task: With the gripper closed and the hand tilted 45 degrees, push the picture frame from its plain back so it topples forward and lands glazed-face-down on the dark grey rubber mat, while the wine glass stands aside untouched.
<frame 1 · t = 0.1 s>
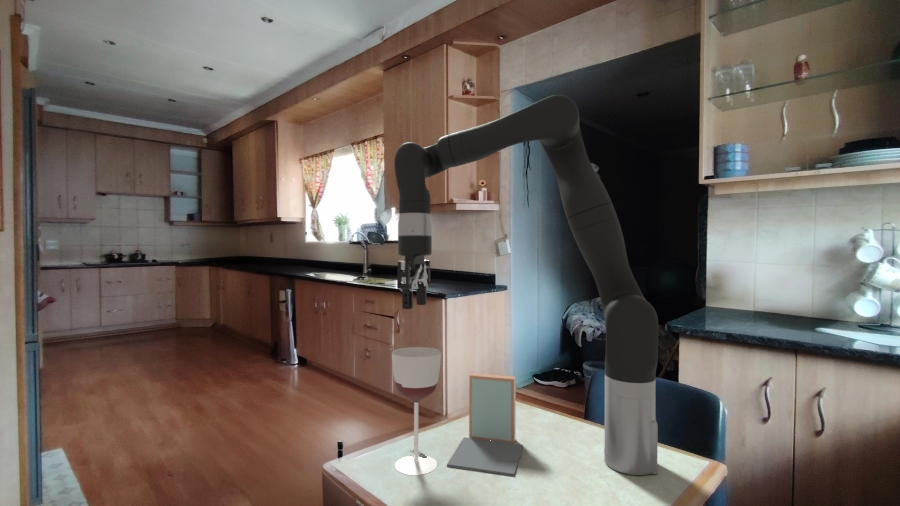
hand: (414, 306, 99), 29 cm above the table, tool pointing down, fingers open, 8 cm apart
mat: (486, 455, 90), on the table
wineglass: (416, 465, 86), on the table
picture frame: (492, 438, 98), on the table
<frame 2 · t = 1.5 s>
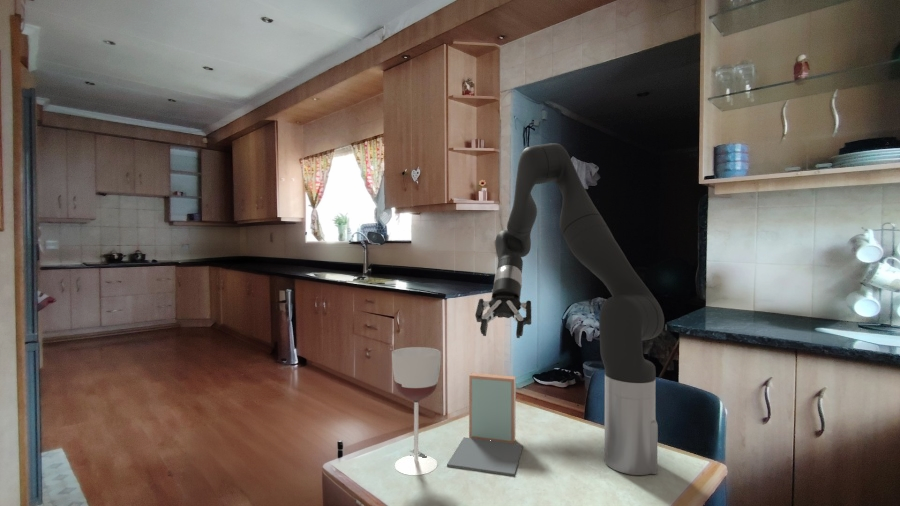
hand: (500, 335, 110), 21 cm above the table, tool tilted 45°, fingers open, 8 cm apart
nothing on the table moved.
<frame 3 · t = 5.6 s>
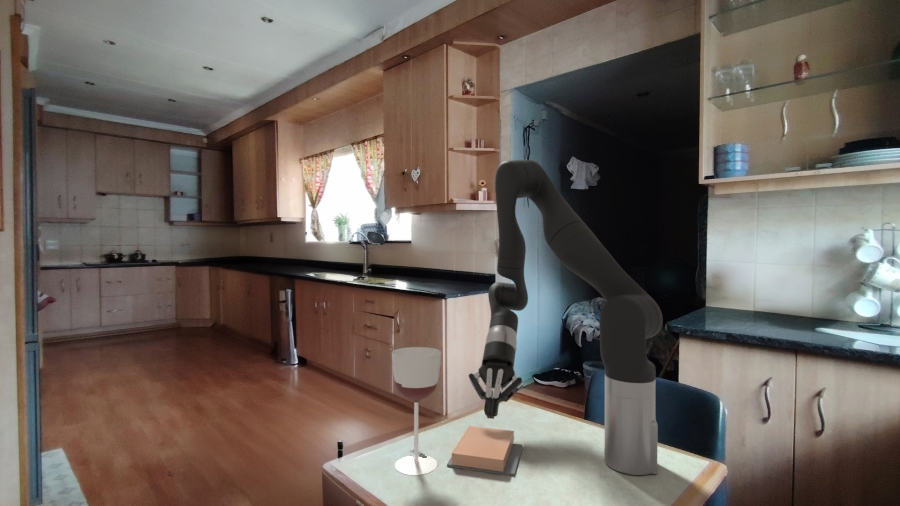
hand: (490, 416, 96), 6 cm above the table, tool tilted 45°, fingers closed
picture frame: (491, 433, 97), point 2 cm above the table, tilted 90°, touching mat
everything else where it was.
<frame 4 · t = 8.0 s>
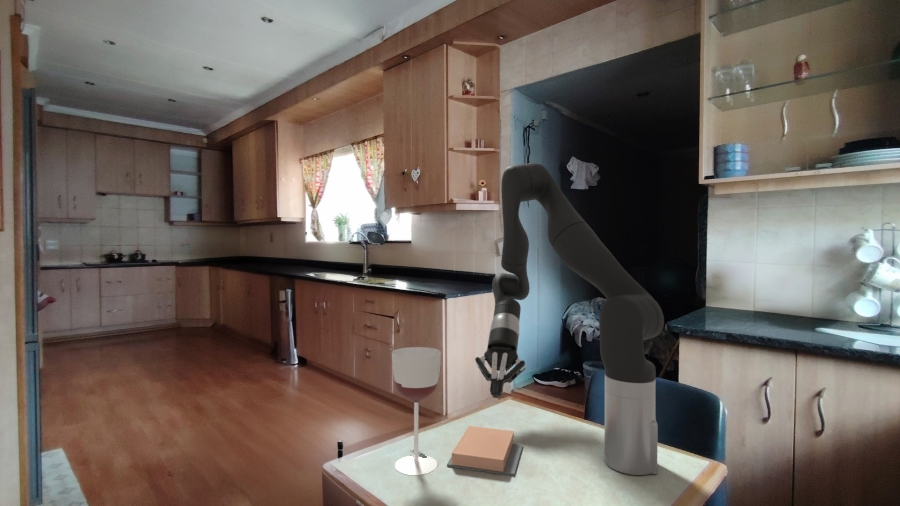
hand: (495, 396, 104), 8 cm above the table, tool tilted 45°, fingers closed
nothing on the table moved.
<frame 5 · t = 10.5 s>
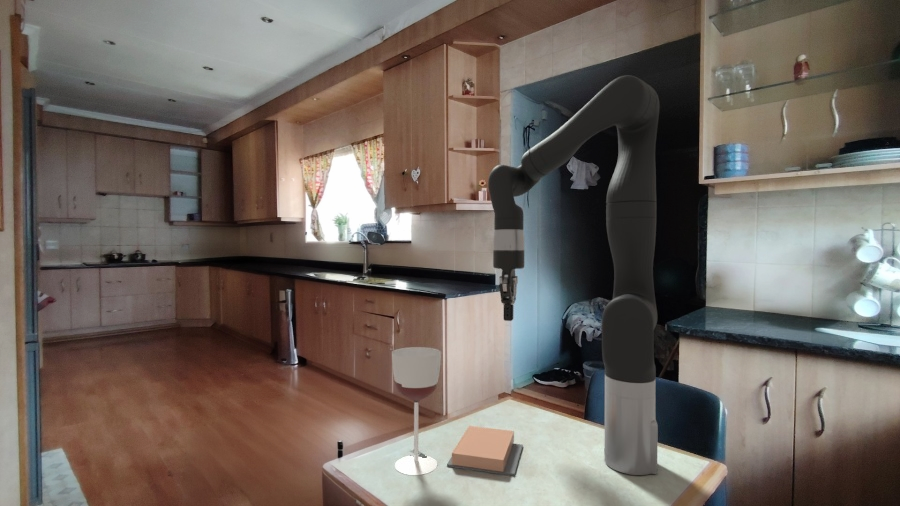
hand: (508, 320, 107), 25 cm above the table, tool pointing down, fingers closed
nothing on the table moved.
at the end: picture frame tilted 90°; picture frame inside the target area (4.8 cm from its centre), point 1.6 cm above the table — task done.
